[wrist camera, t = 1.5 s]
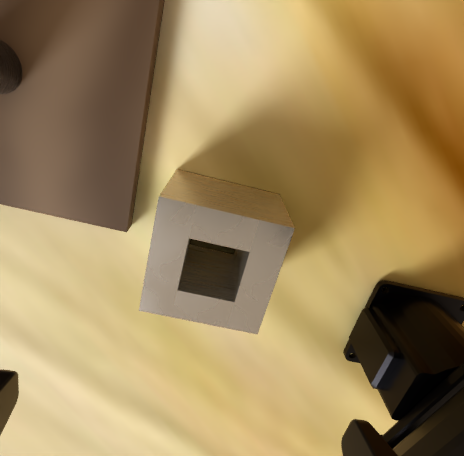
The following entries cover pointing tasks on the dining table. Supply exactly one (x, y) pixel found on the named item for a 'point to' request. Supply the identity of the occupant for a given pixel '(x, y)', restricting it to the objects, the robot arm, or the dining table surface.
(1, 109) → the post base
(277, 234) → the grey block
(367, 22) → the dining table surface
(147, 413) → the dining table surface
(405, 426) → the robot arm
